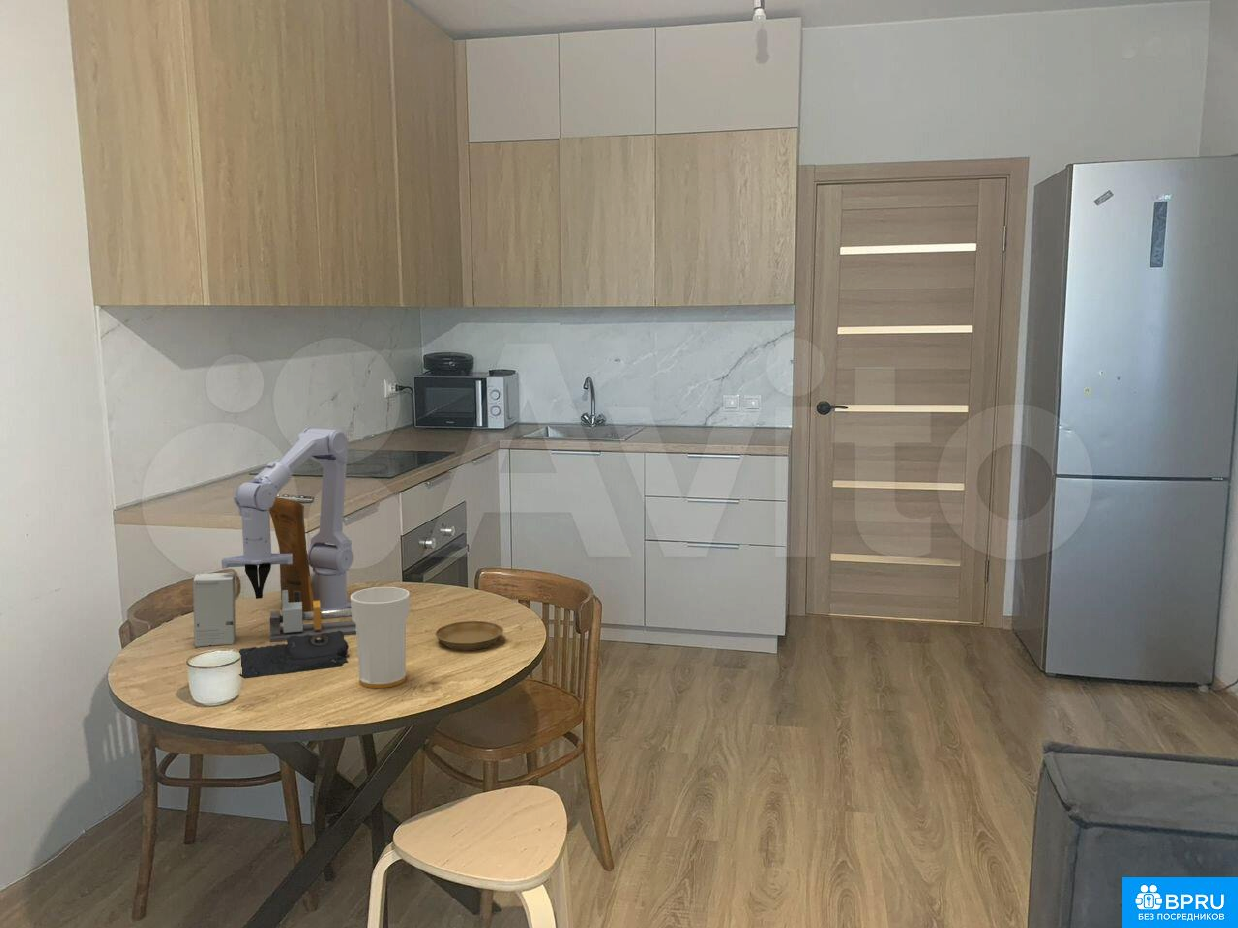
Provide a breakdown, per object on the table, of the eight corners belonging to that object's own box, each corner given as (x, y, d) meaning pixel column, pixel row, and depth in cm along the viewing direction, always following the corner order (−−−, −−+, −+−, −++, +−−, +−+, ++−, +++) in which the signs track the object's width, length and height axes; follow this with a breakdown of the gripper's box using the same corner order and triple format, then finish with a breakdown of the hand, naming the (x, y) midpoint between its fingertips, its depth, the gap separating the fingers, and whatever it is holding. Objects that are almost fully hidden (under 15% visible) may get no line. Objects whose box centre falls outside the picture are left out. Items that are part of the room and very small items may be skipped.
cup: (388, 664, 197) (386, 583, 194) (423, 678, 190) (422, 593, 187) (341, 680, 188) (338, 595, 186) (376, 695, 181) (374, 606, 179)
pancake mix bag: (294, 622, 223) (289, 504, 219) (267, 602, 238) (262, 492, 233) (322, 617, 227) (318, 501, 223) (294, 598, 242) (290, 489, 237)
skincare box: (194, 647, 206) (190, 580, 204) (197, 638, 212) (193, 573, 209) (236, 644, 208) (232, 577, 206) (238, 635, 214) (234, 570, 212)
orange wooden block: (314, 630, 214) (313, 607, 213) (314, 622, 219) (313, 600, 218) (321, 629, 214) (320, 607, 213) (321, 622, 219) (320, 600, 218)
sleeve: (283, 632, 212) (281, 596, 210) (284, 625, 217) (282, 589, 215) (302, 631, 213) (301, 594, 212) (302, 623, 218) (301, 588, 216)
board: (270, 642, 210) (270, 638, 210) (271, 630, 217) (271, 626, 217) (391, 631, 218) (391, 627, 218) (388, 620, 225) (388, 616, 225)
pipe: (270, 639, 211) (269, 617, 210) (271, 632, 216) (270, 611, 215) (391, 628, 219) (390, 607, 218) (389, 622, 224) (388, 601, 223)
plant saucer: (472, 658, 202) (472, 647, 201) (421, 645, 209) (421, 634, 209) (516, 639, 214) (516, 628, 213) (466, 627, 222) (466, 616, 221)
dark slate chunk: (235, 657, 202) (233, 635, 201) (342, 643, 211) (341, 622, 210) (238, 682, 188) (236, 659, 187) (352, 667, 197) (352, 645, 196)
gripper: (219, 543, 203) (222, 605, 205) (291, 539, 208) (294, 599, 210) (221, 536, 210) (225, 596, 212) (291, 532, 214) (294, 590, 216)
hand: (259, 597), depth 211 cm, fingers closed
